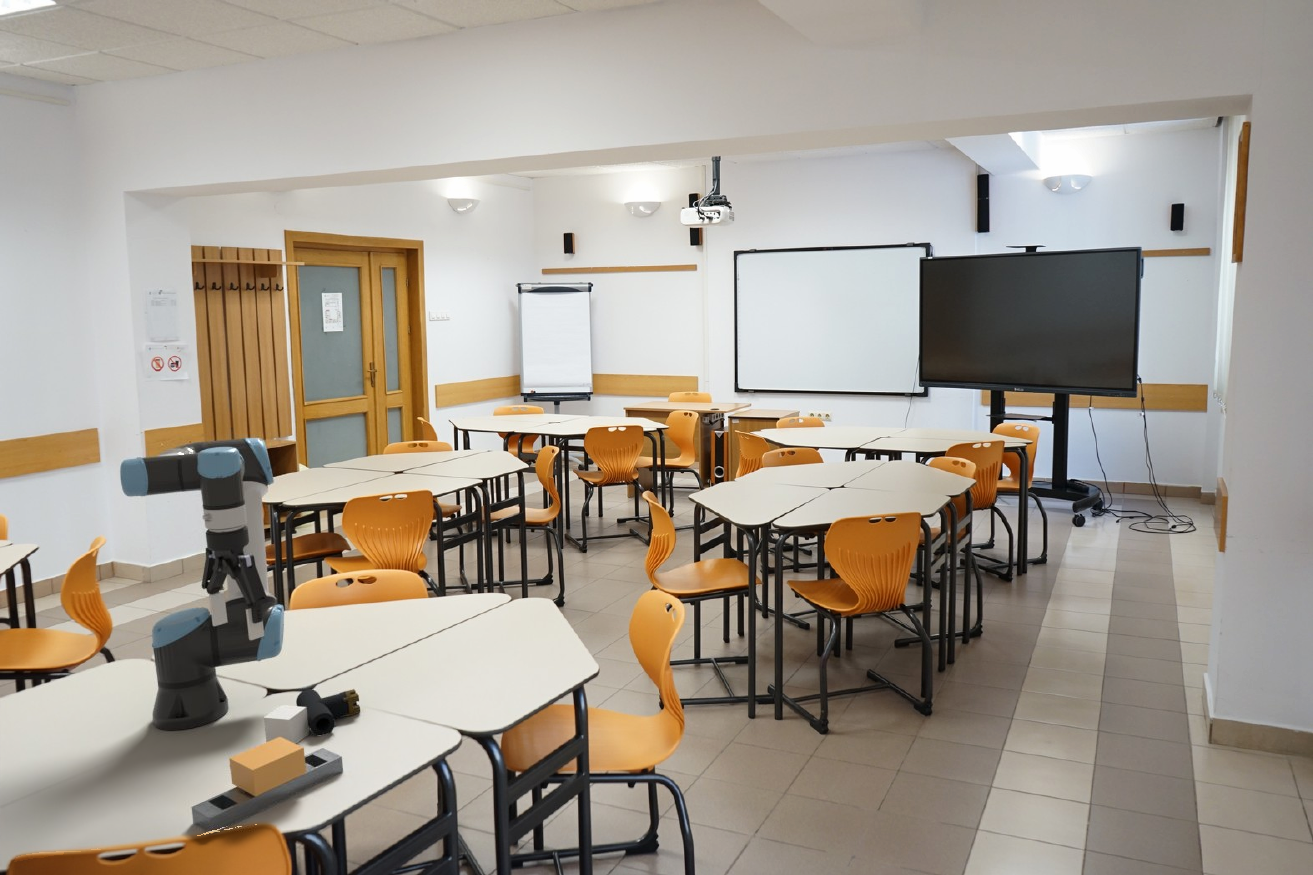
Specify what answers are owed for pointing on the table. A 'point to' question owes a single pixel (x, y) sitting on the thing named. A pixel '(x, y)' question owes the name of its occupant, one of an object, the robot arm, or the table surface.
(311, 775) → the rail
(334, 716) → the pipe connector
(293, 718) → the white cube
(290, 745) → the tan notched block
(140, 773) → the table surface
